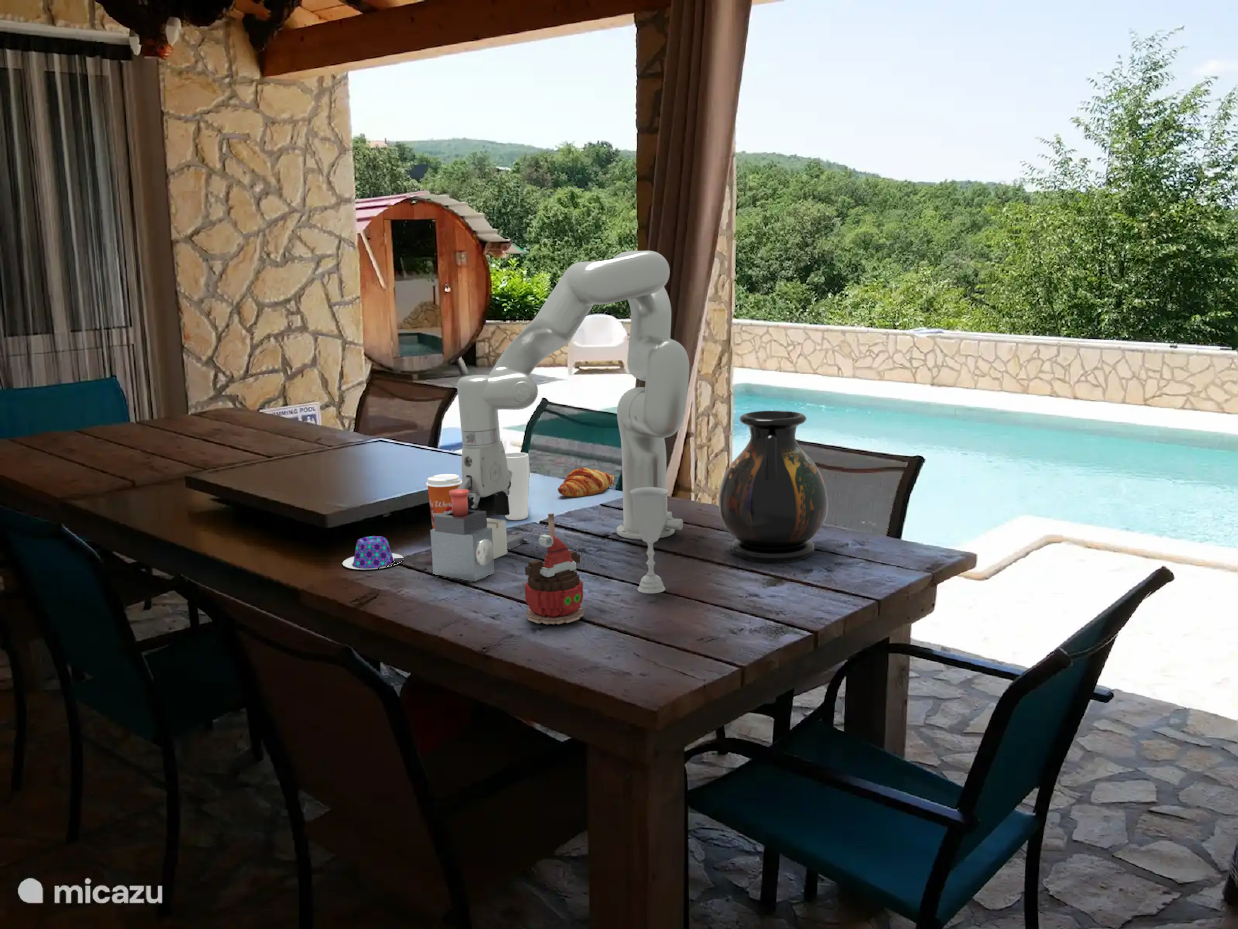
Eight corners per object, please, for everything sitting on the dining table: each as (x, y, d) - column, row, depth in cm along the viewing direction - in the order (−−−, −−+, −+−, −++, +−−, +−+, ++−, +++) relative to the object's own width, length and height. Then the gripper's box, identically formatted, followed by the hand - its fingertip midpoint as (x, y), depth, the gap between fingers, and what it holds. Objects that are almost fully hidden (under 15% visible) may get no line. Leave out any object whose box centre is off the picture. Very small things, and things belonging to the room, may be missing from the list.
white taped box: (507, 553, 220) (506, 519, 219) (490, 560, 215) (488, 526, 213) (481, 549, 223) (480, 516, 222) (464, 557, 218) (462, 523, 217)
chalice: (676, 592, 192) (674, 493, 188) (639, 597, 190) (637, 497, 186) (662, 581, 199) (660, 485, 195) (627, 585, 197) (624, 489, 193)
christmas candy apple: (561, 605, 187) (557, 503, 183) (597, 617, 180) (594, 512, 177) (512, 620, 180) (507, 515, 176) (548, 633, 173) (543, 524, 169)
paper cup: (422, 544, 230) (418, 479, 227) (440, 535, 237) (436, 472, 234) (455, 546, 227) (451, 481, 224) (472, 537, 234) (468, 474, 231)
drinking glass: (526, 522, 246) (523, 457, 244) (498, 521, 248) (495, 457, 245) (535, 515, 253) (532, 452, 250) (507, 514, 254) (504, 452, 252)
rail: (529, 543, 228) (529, 535, 228) (483, 562, 214) (483, 554, 214) (510, 540, 230) (510, 533, 230) (463, 559, 217) (463, 552, 216)
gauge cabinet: (497, 573, 207) (494, 512, 204) (475, 583, 201) (471, 520, 198) (454, 566, 212) (450, 507, 210) (431, 576, 206) (427, 515, 204)
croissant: (604, 496, 287) (592, 469, 288) (630, 482, 281) (619, 454, 282) (552, 510, 271) (540, 481, 272) (579, 496, 265) (567, 466, 266)
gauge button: (473, 513, 205) (472, 489, 204) (462, 517, 202) (460, 493, 201) (458, 511, 207) (457, 488, 206) (446, 515, 203) (445, 492, 203)
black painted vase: (828, 570, 203) (829, 423, 197) (713, 567, 207) (712, 423, 201) (827, 540, 224) (828, 406, 218) (723, 538, 227) (722, 407, 222)
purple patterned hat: (335, 562, 218) (333, 537, 217) (392, 553, 224) (390, 528, 223) (353, 576, 208) (351, 550, 207) (412, 566, 214) (410, 540, 213)
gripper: (469, 446, 205) (477, 533, 209) (521, 430, 220) (527, 511, 223) (438, 445, 209) (447, 530, 212) (491, 429, 224) (498, 509, 227)
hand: (488, 520), depth 218 cm, fingers open, 9 cm apart
